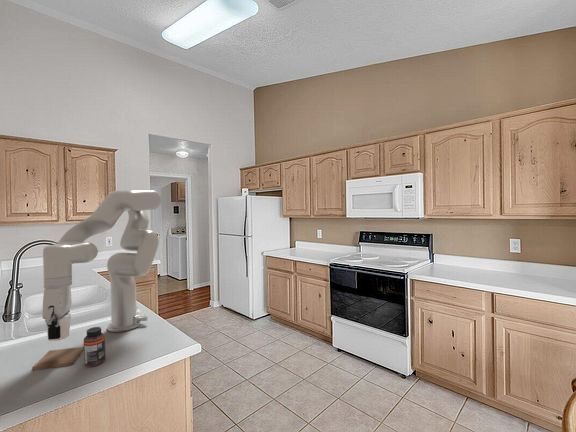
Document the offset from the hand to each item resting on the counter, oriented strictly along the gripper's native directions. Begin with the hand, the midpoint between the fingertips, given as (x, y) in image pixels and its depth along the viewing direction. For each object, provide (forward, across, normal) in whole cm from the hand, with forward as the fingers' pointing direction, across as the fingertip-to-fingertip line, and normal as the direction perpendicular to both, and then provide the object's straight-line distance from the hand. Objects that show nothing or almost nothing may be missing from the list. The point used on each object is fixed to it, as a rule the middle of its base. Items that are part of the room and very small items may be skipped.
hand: (59, 334), depth 100 cm
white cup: (+1, 0, 0) cm, 1 cm away
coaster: (+9, 0, 0) cm, 9 cm away
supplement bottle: (+9, +6, +12) cm, 16 cm away
